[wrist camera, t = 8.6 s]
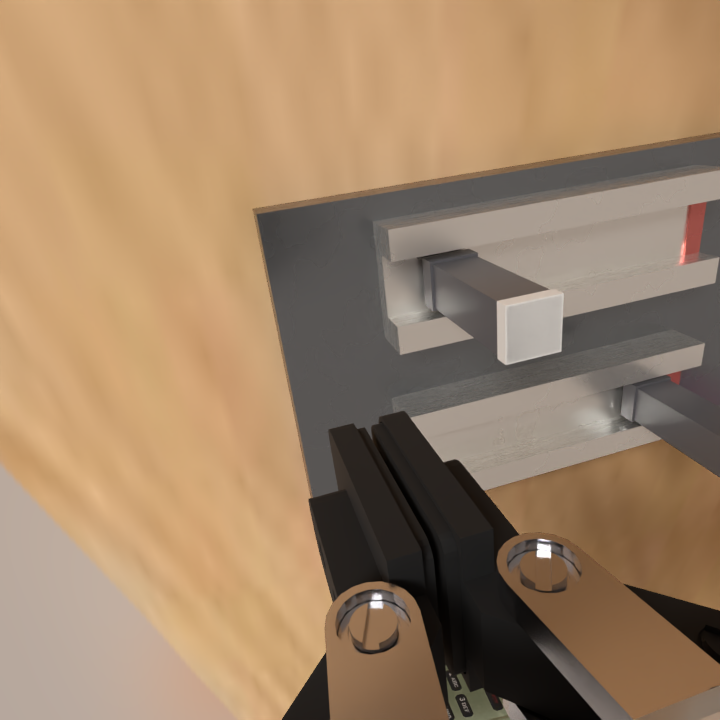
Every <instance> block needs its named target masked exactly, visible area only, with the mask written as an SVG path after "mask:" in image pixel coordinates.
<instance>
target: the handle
mask: <svg viewBox="0 0 720 720" xmlns="http://www.w3.org/2000/svg"><path fill="white" fill-rule="evenodd" d="M621 415H622V416H623V417H625V418H626V419H628V420H629V421H631V422H634V421H636V422H638V423H639V424H641V425H642V426H644V427H645V428H647V429H648V430H650V431H651V432H652V433H654V434H655V435H657V436H658V437H660V438H661V439H663V440H664V441H666V442H667V443H669V444H670V445H672V446H673V447H675V448H676V449H678V450H679V451H681V452H682V453H684V454H685V455H687V456H688V457H690V458H691V459H693V460H694V461H696V462H697V463H699V464H700V465H702V466H703V467H705V468H706V469H708V470H709V471H711V472H712V473H714V474H715V475H717V476H718V477H720V407H719V406H718V405H716V404H714V403H712V402H710V401H708V400H706V399H704V398H703V397H701V396H699V395H697V394H695V393H693V392H691V391H689V390H687V389H686V388H684V387H682V386H680V385H678V384H676V383H674V382H672V381H671V377H669V376H667V375H663V376H659V377H656V378H652V379H648V380H644V381H640V382H637V383H633V384H629V385H625V386H623V396H622V406H621Z"/></svg>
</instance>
